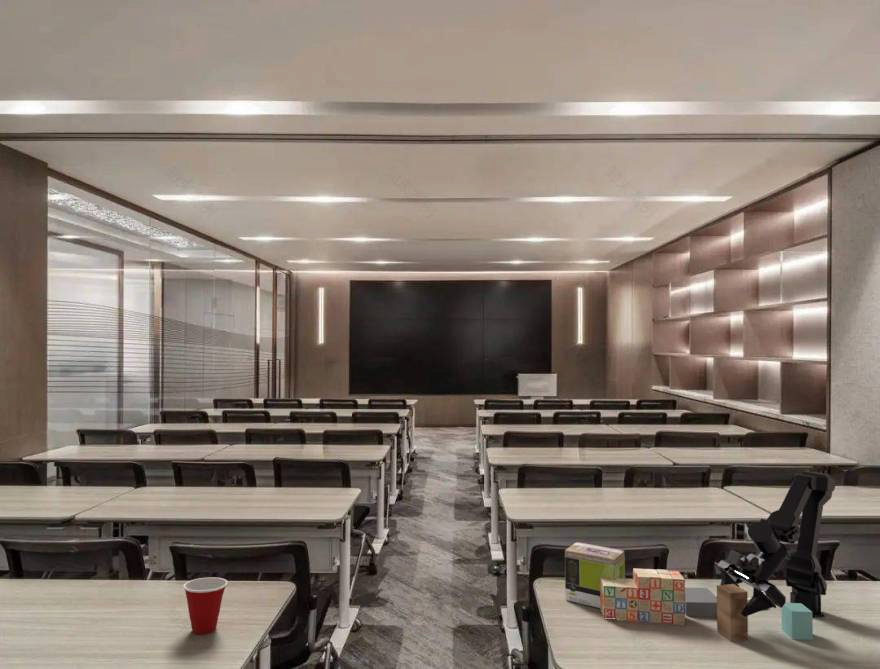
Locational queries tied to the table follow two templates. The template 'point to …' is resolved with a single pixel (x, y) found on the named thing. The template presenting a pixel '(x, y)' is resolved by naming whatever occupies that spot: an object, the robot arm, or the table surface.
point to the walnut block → (732, 612)
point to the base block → (700, 602)
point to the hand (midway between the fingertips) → (729, 607)
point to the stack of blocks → (645, 597)
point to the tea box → (590, 571)
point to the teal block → (797, 621)
